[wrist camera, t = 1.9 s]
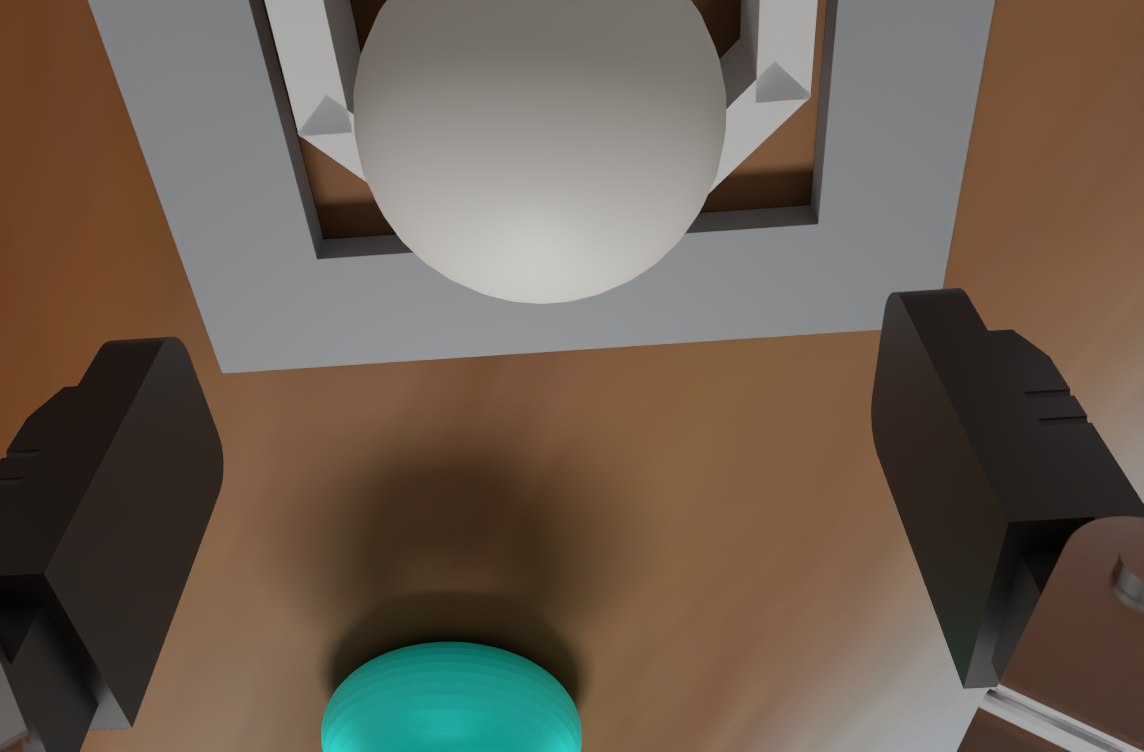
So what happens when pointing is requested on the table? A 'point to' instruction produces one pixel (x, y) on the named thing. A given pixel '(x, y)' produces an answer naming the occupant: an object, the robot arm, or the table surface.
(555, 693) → the donuts
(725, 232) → the bulb socket stand
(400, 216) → the lightbulb
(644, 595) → the table surface
